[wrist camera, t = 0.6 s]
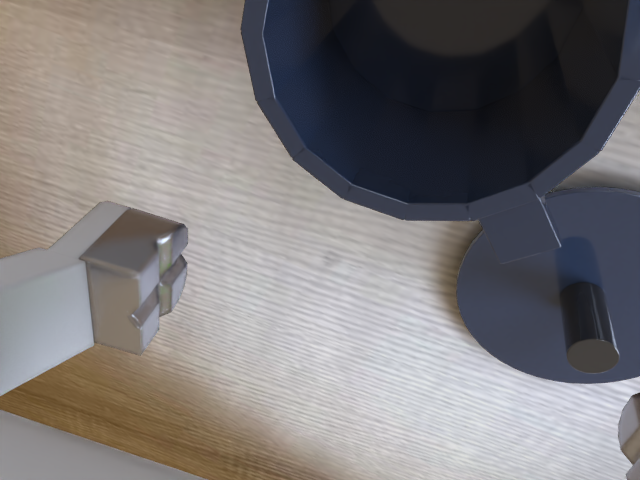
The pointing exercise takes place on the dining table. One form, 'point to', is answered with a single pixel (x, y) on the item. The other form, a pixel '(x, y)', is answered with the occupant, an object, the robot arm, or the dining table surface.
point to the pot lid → (563, 293)
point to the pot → (446, 101)
